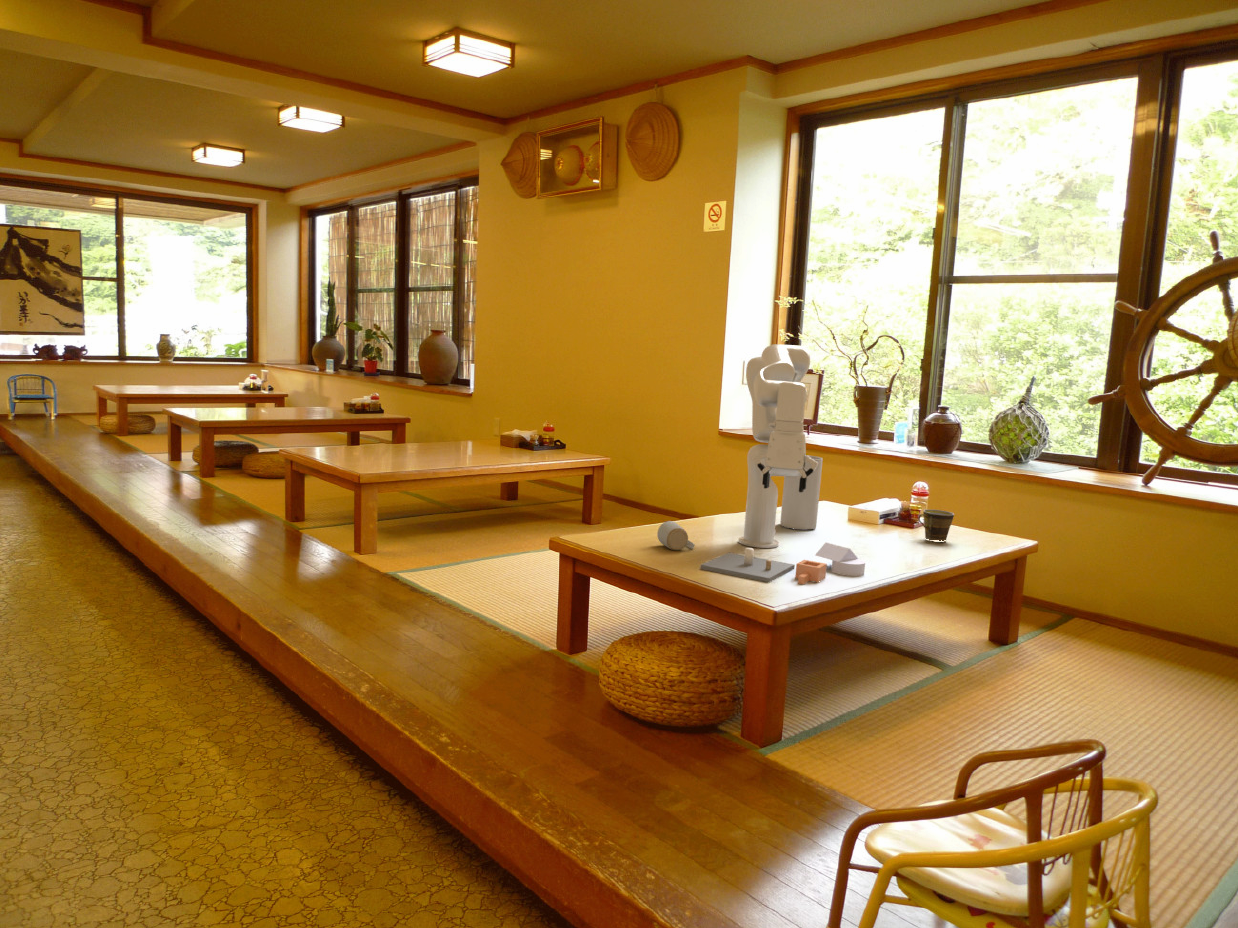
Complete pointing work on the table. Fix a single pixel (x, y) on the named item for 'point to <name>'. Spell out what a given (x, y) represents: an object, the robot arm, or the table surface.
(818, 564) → the square frame with post
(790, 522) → the cylinder vase
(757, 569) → the base plate
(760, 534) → the robot arm
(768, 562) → the dowel pin
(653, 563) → the table surface
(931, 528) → the ceramic cup
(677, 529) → the ceramic mug
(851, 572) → the wedge on round base
